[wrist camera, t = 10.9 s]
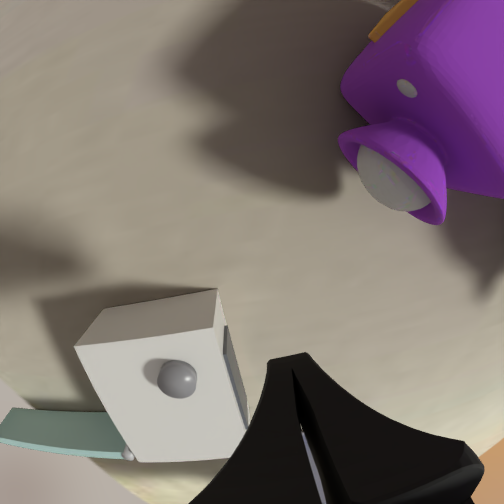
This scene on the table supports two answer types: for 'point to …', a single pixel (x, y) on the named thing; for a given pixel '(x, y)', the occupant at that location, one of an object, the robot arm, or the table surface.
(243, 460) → the robot arm
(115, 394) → the block
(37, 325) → the table surface
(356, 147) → the toy camera
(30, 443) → the side door
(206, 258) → the table surface
